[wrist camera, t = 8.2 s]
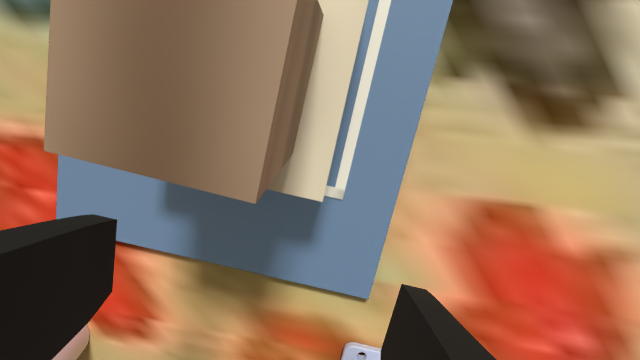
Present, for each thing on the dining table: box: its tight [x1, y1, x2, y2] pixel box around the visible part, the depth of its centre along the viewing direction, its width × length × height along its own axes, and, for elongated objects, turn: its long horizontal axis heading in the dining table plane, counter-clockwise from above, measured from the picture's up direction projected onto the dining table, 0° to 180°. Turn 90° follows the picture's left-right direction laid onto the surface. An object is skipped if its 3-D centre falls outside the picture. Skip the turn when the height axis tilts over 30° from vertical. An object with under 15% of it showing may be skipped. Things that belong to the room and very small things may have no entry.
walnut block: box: [44, 0, 324, 204], centre depth 11 cm, size 5×5×6 cm
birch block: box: [267, 0, 369, 202], centre depth 16 cm, size 8×8×4 cm
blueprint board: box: [56, 0, 453, 299], centre depth 19 cm, size 17×16×1 cm
